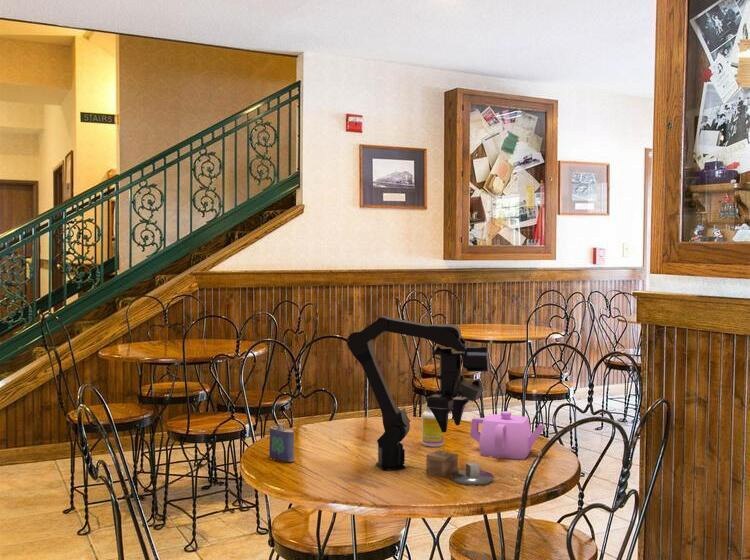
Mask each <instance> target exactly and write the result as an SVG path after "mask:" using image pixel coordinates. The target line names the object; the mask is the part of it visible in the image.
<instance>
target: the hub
mask: <svg viewBox="0 0 750 560" xmlns="http://www.w3.org/2000/svg"><path fill="white" fill-rule="evenodd" d="M450 477H451V481H452V482H453V481H454V483H455V482H456V483H455V484H458V483H459V485H462V484H465V485H464V486H468V485H475V486H474V487H479V486H478V485H483V486H487V484H488V485H491V484H493V483H492V482H493V481H494V482H495V476H494V474H493V473H491V472H489V471H485V470H480V464H478V463H477V462H466V463H465V469H460V470H458V471H455V472H453V473H452V474H451V475H450ZM490 483H491V484H490Z"/></svg>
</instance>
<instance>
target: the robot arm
mask: <svg viewBox="0 0 750 560" xmlns="http://www.w3.org/2000/svg"><path fill="white" fill-rule="evenodd" d="M385 332H388V333H394V334H399V335H404V336H409V337H413V338H415V337H416V338H420V339H424V340H428V341H430V342H432V343H434V344H437V347H436V348H435V350H434V351H432V353H431V354H432V355H433V356H439V374H437V375H436V379H437V380H439V390H437V391H436V392H437V394H435V393H434V394H432V395H429V396H428V397H427V399H426V403H427V407H429V409H430V410H431V411H432V413H433V415H434V416H435V418H436V420H437V422H438V424H439V426H440V429H441V431H442V432H444V433H447V429H448V422H449V414H450V413H451V414H452V418H453V421H454V424H455V426H460V424H461V421H462V416H463V413H464V409H465V406H466V405H467V404H468V403H469V402H470V401H471V402H476V401H478V400H480V397H481V394H482V393H483V392H484V390H483V389H484V388H483V385H482V381H480V380H479V379H475V380H473V381H467V380H466V379H465V378H466V377H465V374H463V373H462V367H463V369H465V370H466V372H471V373H472V372H474V373H477V372H478V373H489V370H490V369H489V368H490V366H489V365H490V357H489V352H488V351H489V349H488V346H485V345H484V346H469V345H468V344H467V342H466V341H465V339H464V338H463V337H462V332H461V329H460V327H459V326H458V325H456V324H451V323H447V324H446V323H444V324H443V323H440V324H439V323H437V324H427V323H422V322H417V321H411V320H404V319H399V318H394V317H390V316H387V315H383V316H380V317H378V318H377V319H376V320H375V321H374V322H372V323H371V324H370V325H368V326H367V327H365V328H363V329H360V330H356V331H353V332H352V333H350V334H349V335H348V336H347V339H346V345H347V348H348V349H349V351H350V352H351V354H352V356H353V357H354V358H355V360H356V361H357V362H358V363H359V364H360V365H361V367H362V369H363V372H364V374H365V376H366V378H367V381H368V383H369V386H370V388H371V390H372V392H373V395H374V397H375V399H376V402H377V405H378V407H379V408H380V409H379V410H380V411H381V415H382V416H381V417H382V425H383V428H384V429H383V430H384V432H383V433H382V434H381V435H380V437H379V438H377V441H376V442H377V445H378V446H377V453H378V454H377V456H378V457H377V462H376V463H375V465H376V466H377V467H379V468H380V470H383V471H390V470H392V471H393V470H402V469H406V465H405V462H406V461H405V459H406V458H405V456H406V451H405V449H404V444H403V443H401V442H402V441H403V440H404V439H405V437H406V436H407V435H408V434H409V432H410V429H411V425H410V423H411V422H412V420H411V419H410V418H409V417H408V415H407V410H406V408H404V407H403V408H402V409H400V408H399V407H398V406H397V404H396V403H395V400H394V399H393V396H392V394H391V391H390V388H389V386H388V384H387V382H386V380H385V379H386V378H385V377H384V374H383V372H382V371H381V368H380V365H379V363H378V361H377V358H376V350H375V344H374V340H375V339H377V338H378V337H379V336H381V335H382V334H383V333H385ZM443 347H445V348H443ZM454 350H455V351H454Z"/></svg>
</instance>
